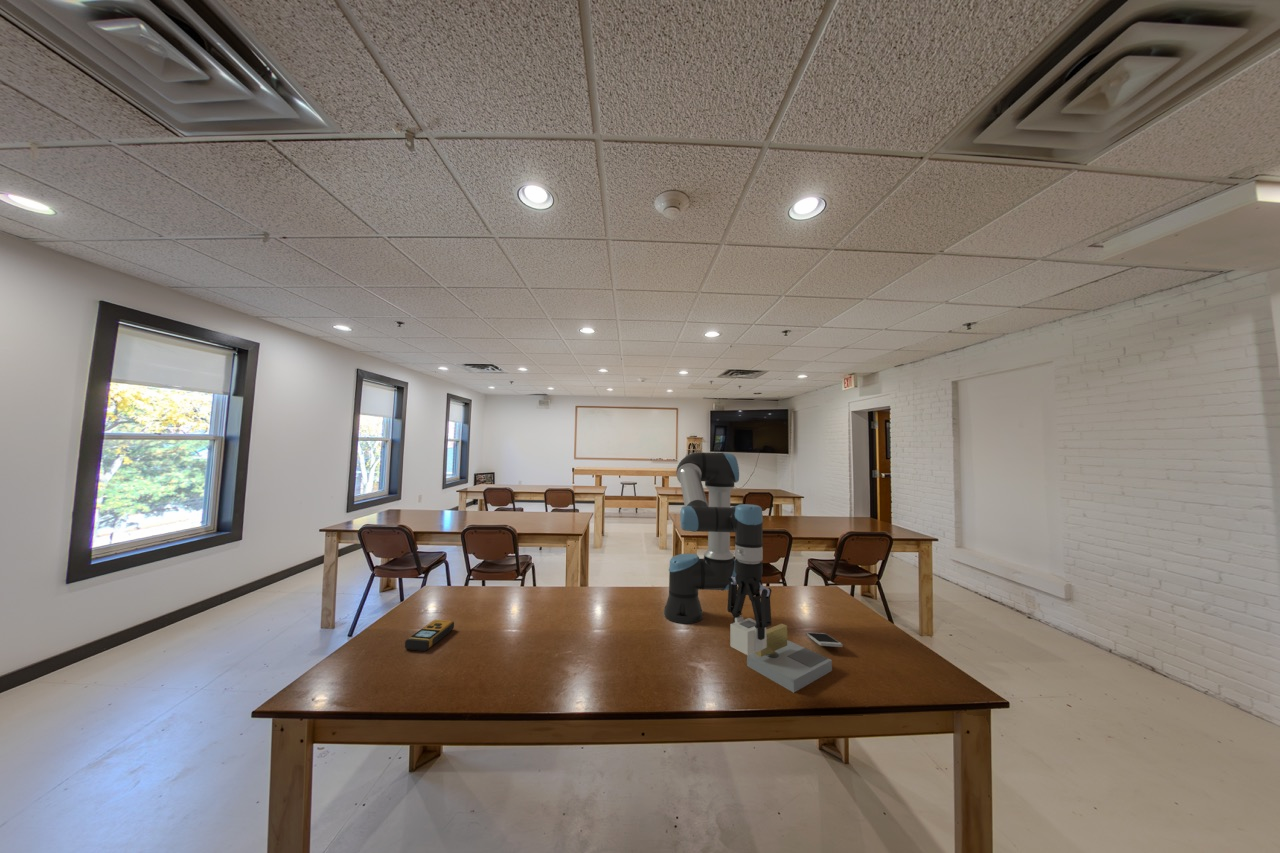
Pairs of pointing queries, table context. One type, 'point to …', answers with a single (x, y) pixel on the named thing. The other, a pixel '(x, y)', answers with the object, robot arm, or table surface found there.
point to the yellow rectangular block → (774, 640)
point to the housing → (791, 666)
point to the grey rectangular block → (744, 636)
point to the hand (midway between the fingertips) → (748, 645)
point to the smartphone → (824, 639)
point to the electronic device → (429, 635)
